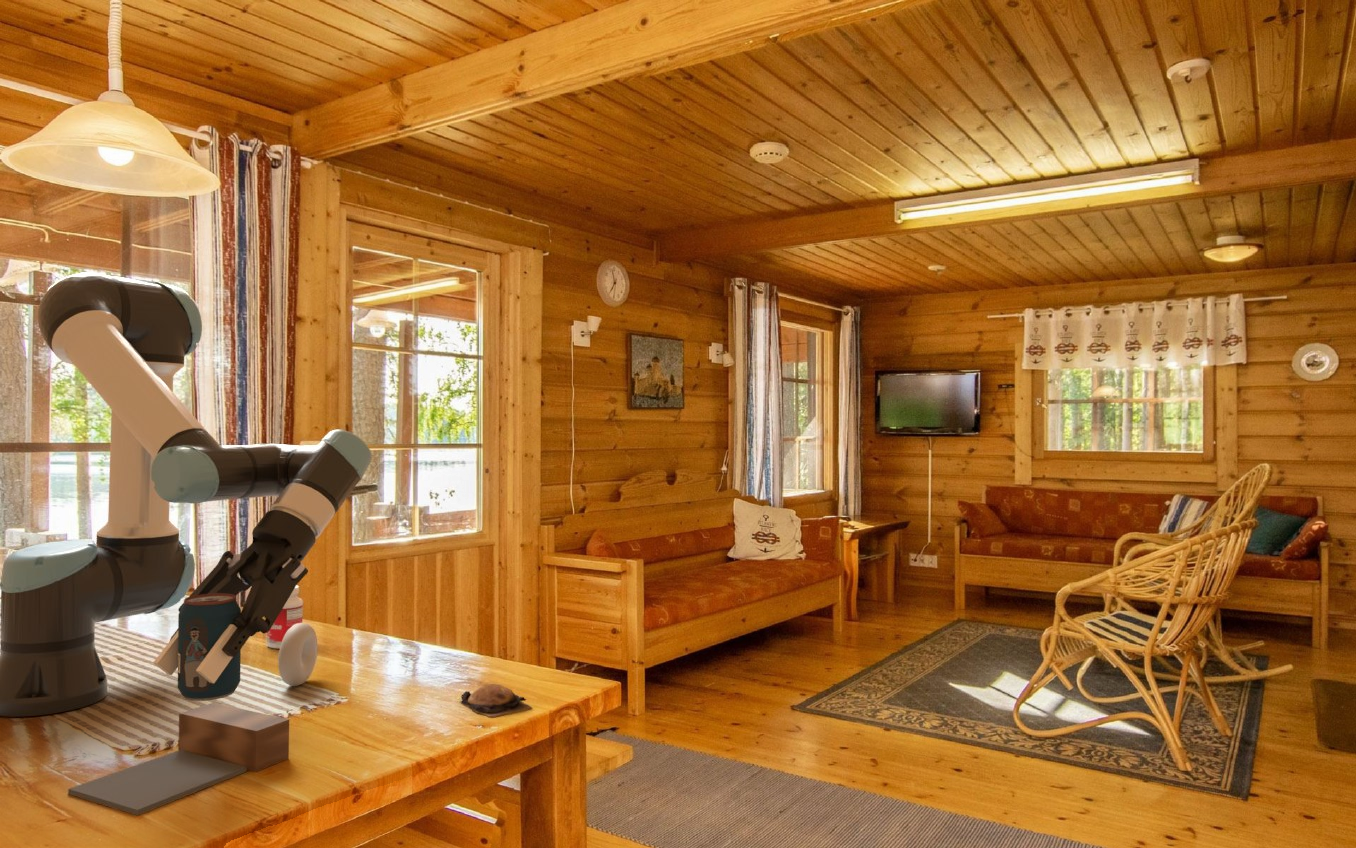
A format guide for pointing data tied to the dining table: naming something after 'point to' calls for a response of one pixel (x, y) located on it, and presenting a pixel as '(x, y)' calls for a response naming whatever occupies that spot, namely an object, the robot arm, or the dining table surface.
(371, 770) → the dining table surface
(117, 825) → the dining table surface
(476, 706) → the brown domed piece
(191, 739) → the walnut block
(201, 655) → the soda can
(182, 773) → the charcoal mat
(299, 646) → the donut
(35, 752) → the dining table surface
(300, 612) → the pill bottle
